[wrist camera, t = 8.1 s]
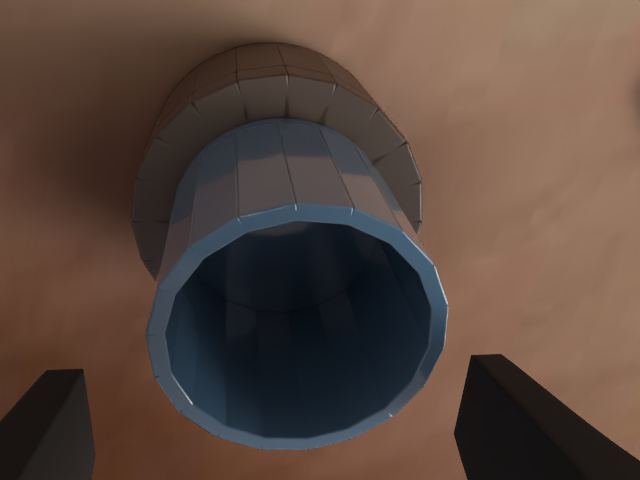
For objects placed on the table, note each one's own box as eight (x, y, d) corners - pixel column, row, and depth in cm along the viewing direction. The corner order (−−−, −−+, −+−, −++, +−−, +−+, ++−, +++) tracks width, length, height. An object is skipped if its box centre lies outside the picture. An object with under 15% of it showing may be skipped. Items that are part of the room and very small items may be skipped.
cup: (277, 345, 18) (293, 490, 13) (123, 221, 15) (78, 346, 11) (428, 223, 17) (503, 337, 12) (286, 66, 14) (313, 135, 10)
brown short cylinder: (267, 301, 22) (275, 381, 18) (100, 160, 19) (66, 221, 15) (429, 165, 21) (476, 222, 17) (276, -15, 17) (290, 3, 14)
